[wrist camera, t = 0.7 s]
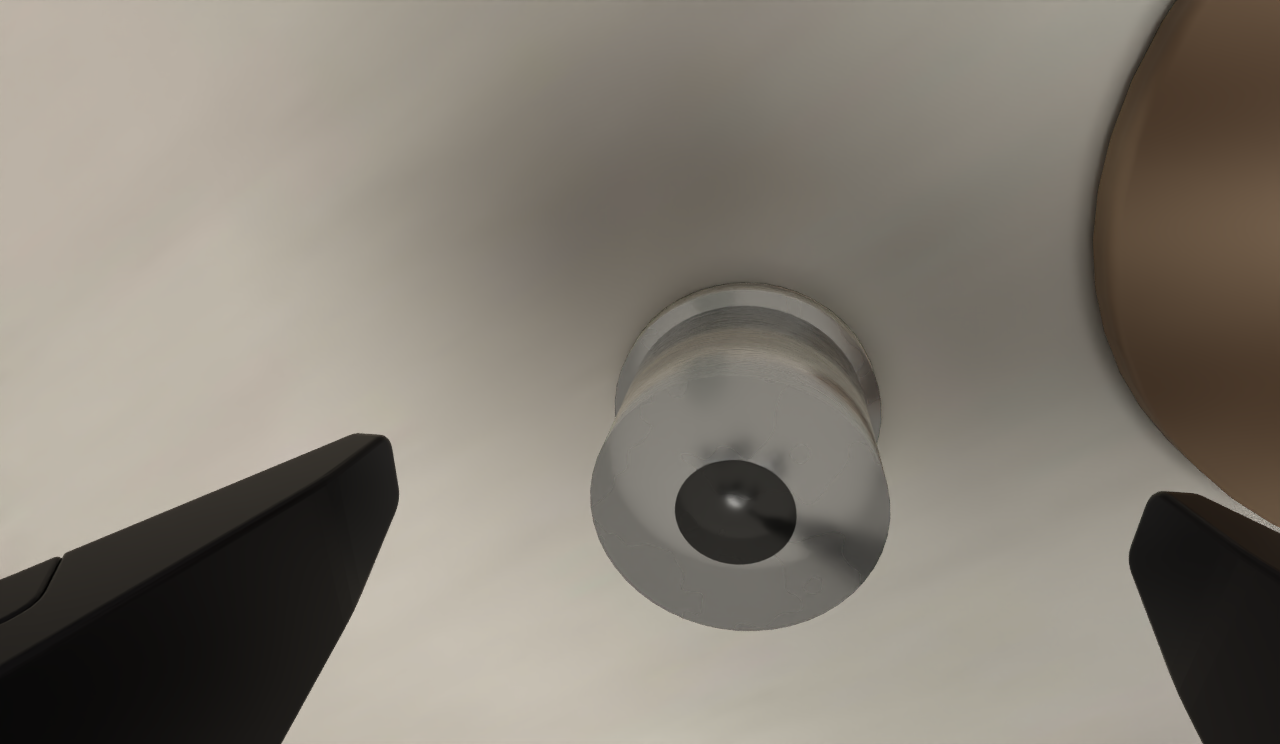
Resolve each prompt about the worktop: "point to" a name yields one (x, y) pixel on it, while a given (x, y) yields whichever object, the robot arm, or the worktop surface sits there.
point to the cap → (744, 461)
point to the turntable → (1201, 242)
